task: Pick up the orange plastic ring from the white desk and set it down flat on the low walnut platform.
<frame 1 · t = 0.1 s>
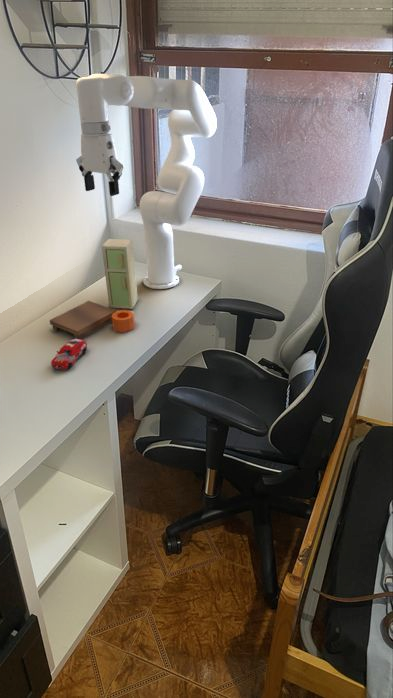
hand: (102, 192, 151), 37 cm above the table, tool pointing down, fingers open, 9 cm apart
ring: (123, 326, 158), on the table
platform: (84, 325, 159), on the table
race car: (70, 360, 143), on the table
toy refrigerator: (123, 305, 171), on the table
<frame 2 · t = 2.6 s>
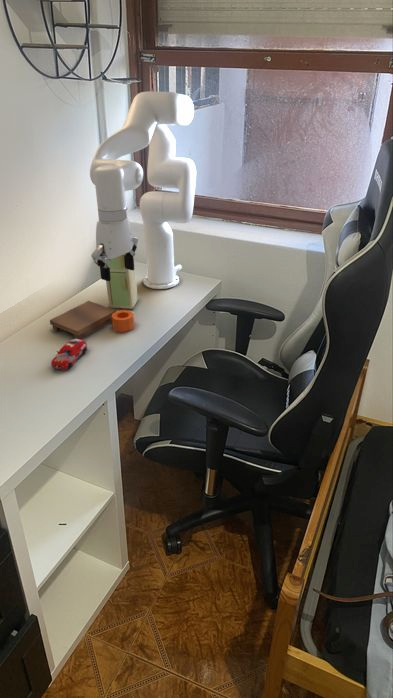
hand: (118, 274, 149), 17 cm above the table, tool pointing down, fingers open, 9 cm apart
nothing on the table moved.
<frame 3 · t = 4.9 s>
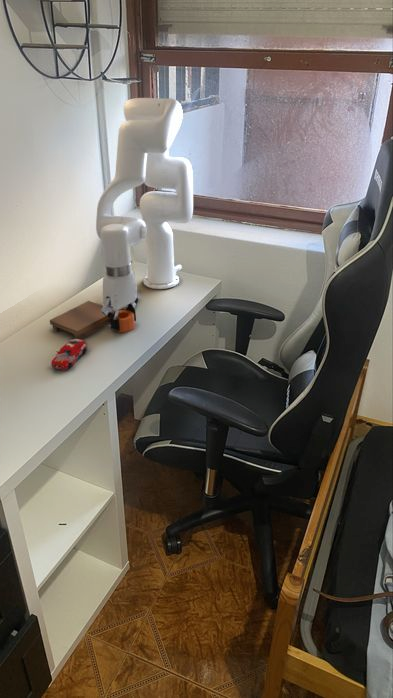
hand: (123, 324, 158), 1 cm above the table, tool pointing down, fingers closed on ring, 6 cm apart
ring: (123, 326, 158), on the table, touching gripper
everything else where it was.
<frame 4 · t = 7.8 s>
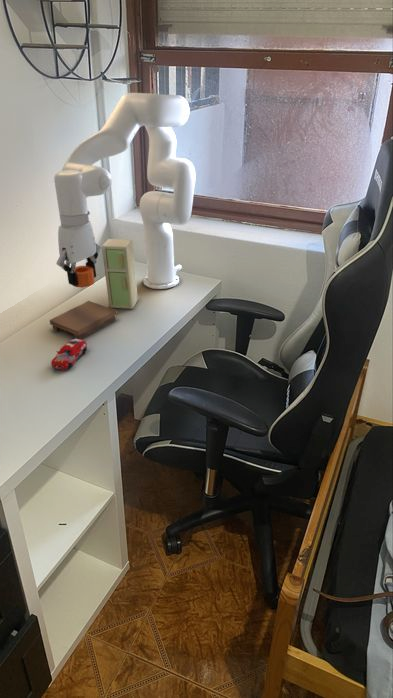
hand: (82, 280, 151), 15 cm above the table, tool pointing down, fingers closed on ring, 6 cm apart
ring: (83, 282, 151), point 14 cm above the table, touching gripper
everything else where it was.
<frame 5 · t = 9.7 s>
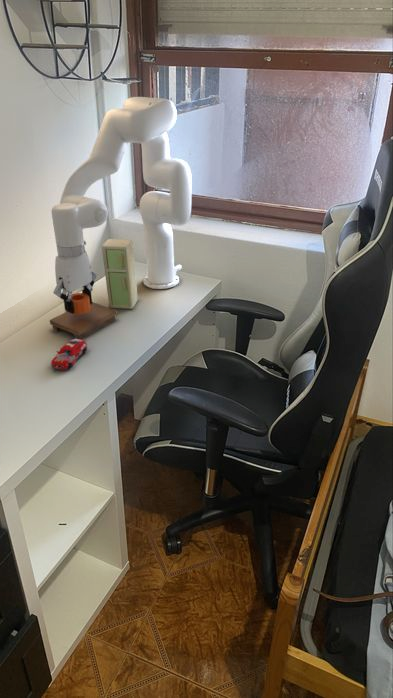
hand: (79, 307, 155), 7 cm above the table, tool pointing down, fingers closed on ring, 6 cm apart
ring: (79, 309, 156), point 6 cm above the table, touching gripper
everything else where it was.
when the fingers open (4 cm above the table, at t = 10.9 s): ring stays where it is, resting on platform.
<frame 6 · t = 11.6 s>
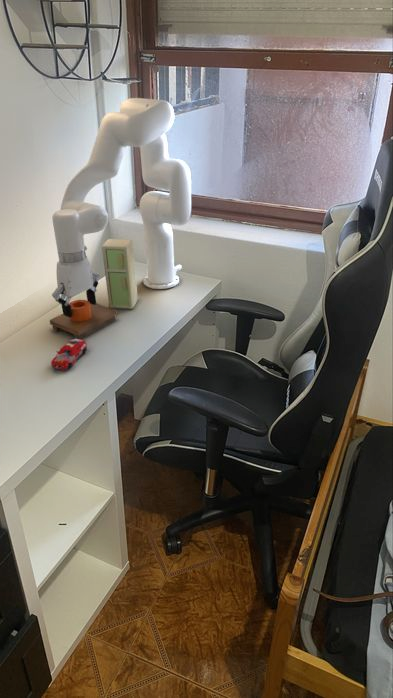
hand: (80, 309, 156), 6 cm above the table, tool pointing down, fingers open, 9 cm apart
ring: (80, 316, 157), point 3 cm above the table, touching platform
everything else where it was.
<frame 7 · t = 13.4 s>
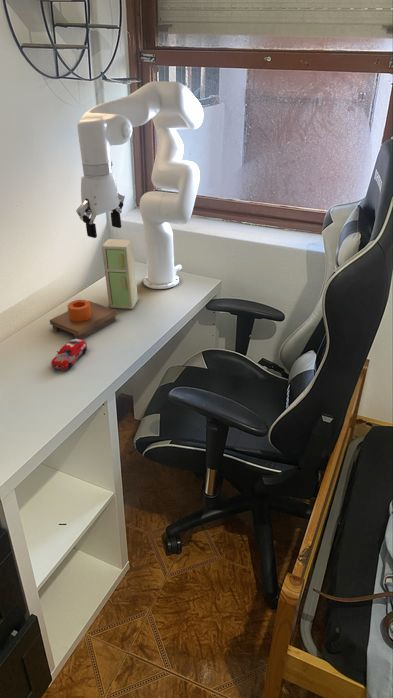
hand: (104, 231, 148), 28 cm above the table, tool pointing down, fingers open, 9 cm apart
nothing on the table moved.
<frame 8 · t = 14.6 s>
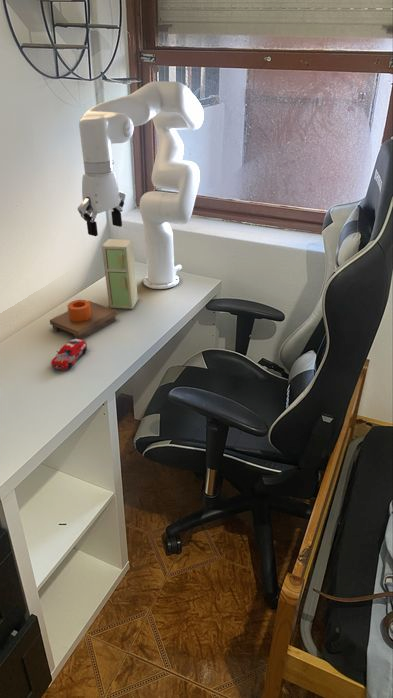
hand: (105, 230, 148), 28 cm above the table, tool pointing down, fingers open, 9 cm apart
nothing on the table moved.
at the end: ring inside the target area on the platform (1.1 cm from its centre), point 3.5 cm above the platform's base; ring tilted 0°; the gripper is holding nothing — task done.
